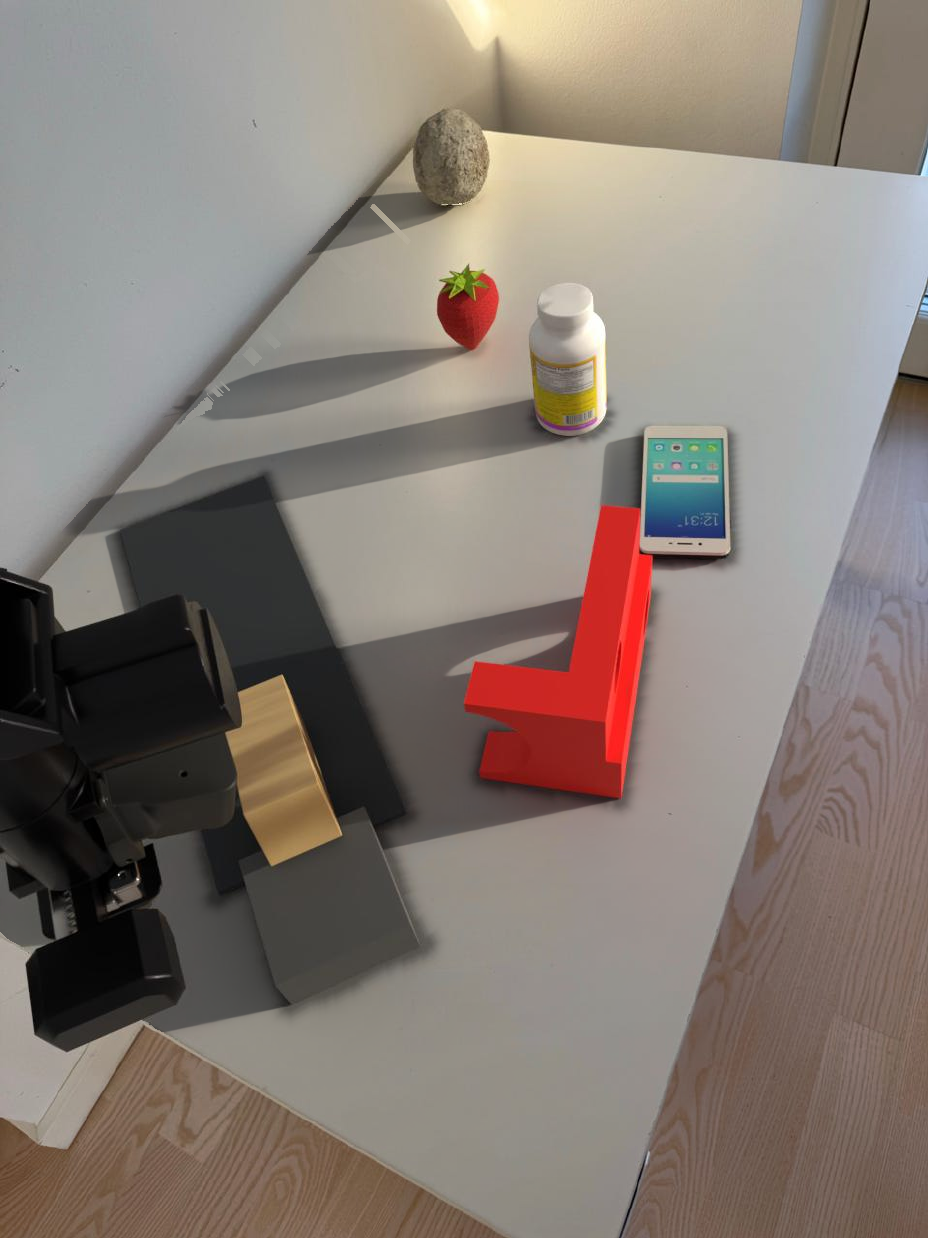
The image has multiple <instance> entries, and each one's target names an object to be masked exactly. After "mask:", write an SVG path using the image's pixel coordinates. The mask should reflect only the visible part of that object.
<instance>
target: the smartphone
mask: <svg viewBox="0 0 928 1238" xmlns="http://www.w3.org/2000/svg"><path fill="white" fill-rule="evenodd" d="M728 444H729V443H728V429H727V428H726V427H725V426H722V425H648V426H647V427H645V428H644V431H643V457H642V479H641V503H640V506H639V508H640V538H639V554H643V555H653V557H652V558H665V559H667V558H668V559H669V558H670V559H702V560H703V559H705V560H706V559H707V560H711V559H712V560H724V559H726V558H728V557H729V556H730V552H731V529H732V522H731V508H730V484H729V483H730V482H729V481H730V479H729V448H728V447H729V445H728Z"/></svg>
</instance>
